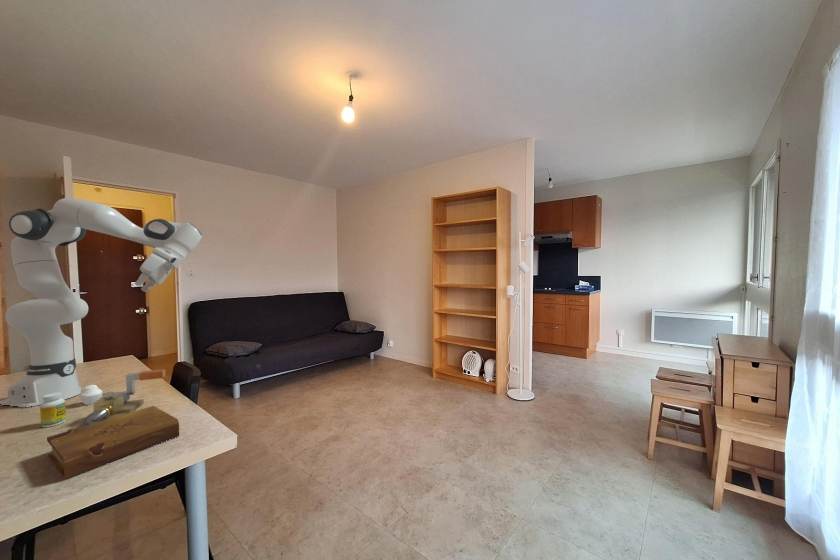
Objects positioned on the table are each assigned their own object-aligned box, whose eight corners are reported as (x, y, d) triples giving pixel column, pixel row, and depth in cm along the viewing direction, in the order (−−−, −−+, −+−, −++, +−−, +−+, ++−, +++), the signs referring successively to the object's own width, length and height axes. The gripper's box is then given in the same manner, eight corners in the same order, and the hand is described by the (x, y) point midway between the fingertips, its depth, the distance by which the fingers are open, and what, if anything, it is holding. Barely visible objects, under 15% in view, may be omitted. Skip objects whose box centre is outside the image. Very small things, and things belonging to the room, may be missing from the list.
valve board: (113, 428, 100) (113, 423, 100) (67, 434, 96) (67, 429, 96) (143, 403, 119) (143, 399, 119) (106, 407, 115) (105, 403, 115)
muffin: (85, 407, 115) (84, 388, 115) (75, 405, 118) (74, 386, 117) (106, 401, 121) (105, 382, 121) (97, 398, 123) (96, 381, 123)
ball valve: (101, 426, 99) (100, 409, 99) (79, 429, 97) (78, 411, 97) (133, 401, 118) (133, 386, 118) (116, 403, 116) (115, 388, 116)
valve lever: (100, 399, 106) (99, 377, 105) (105, 396, 108) (104, 374, 108) (162, 392, 111) (162, 371, 111) (166, 389, 114) (165, 369, 114)
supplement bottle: (49, 421, 105) (47, 392, 105) (70, 418, 107) (69, 390, 107) (36, 429, 100) (34, 398, 100) (58, 426, 102) (57, 396, 101)
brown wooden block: (65, 483, 75) (64, 459, 75) (47, 458, 85) (46, 437, 85) (179, 438, 95) (178, 419, 94) (154, 422, 105) (153, 405, 104)
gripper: (163, 261, 131) (138, 289, 125) (153, 246, 114) (123, 277, 108) (179, 269, 134) (154, 297, 127) (171, 255, 116) (143, 287, 110)
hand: (140, 288), depth 118 cm, fingers open, 8 cm apart
